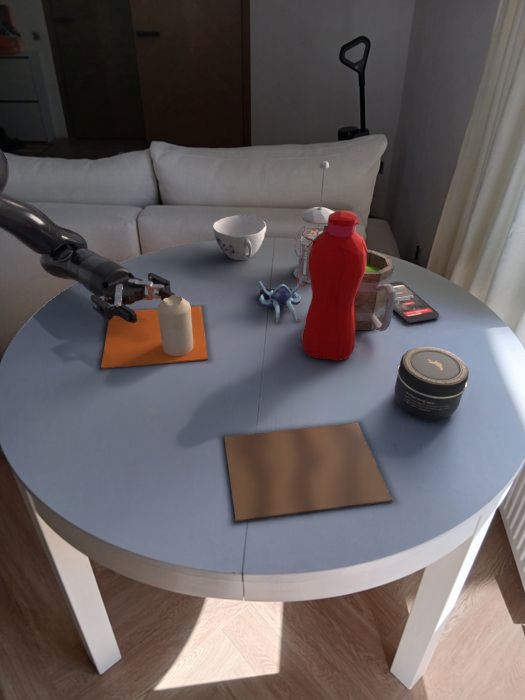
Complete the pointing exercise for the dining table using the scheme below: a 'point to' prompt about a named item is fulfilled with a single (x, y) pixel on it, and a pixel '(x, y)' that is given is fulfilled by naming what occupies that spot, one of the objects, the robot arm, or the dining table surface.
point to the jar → (430, 383)
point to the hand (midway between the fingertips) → (155, 309)
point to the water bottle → (334, 288)
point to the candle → (175, 326)
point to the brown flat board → (302, 471)
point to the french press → (311, 232)
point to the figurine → (280, 298)
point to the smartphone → (411, 304)
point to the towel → (148, 341)
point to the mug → (375, 294)
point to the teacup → (239, 235)
